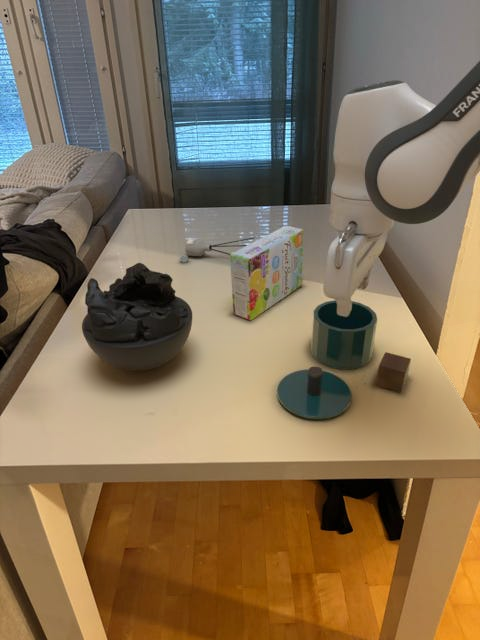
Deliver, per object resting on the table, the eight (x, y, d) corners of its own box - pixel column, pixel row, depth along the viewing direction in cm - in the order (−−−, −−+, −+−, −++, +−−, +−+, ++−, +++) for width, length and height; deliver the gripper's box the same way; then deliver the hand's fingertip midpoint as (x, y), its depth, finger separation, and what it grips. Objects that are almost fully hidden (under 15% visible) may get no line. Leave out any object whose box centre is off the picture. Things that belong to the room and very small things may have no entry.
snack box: (283, 280, 119) (285, 224, 112) (302, 286, 116) (305, 228, 109) (231, 314, 105) (228, 252, 98) (251, 322, 102) (250, 258, 95)
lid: (359, 386, 83) (363, 360, 80) (336, 431, 73) (340, 404, 70) (294, 366, 88) (295, 342, 85) (265, 407, 79) (265, 381, 76)
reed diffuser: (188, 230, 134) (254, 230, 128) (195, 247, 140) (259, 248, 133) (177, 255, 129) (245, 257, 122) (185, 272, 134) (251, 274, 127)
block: (407, 378, 84) (411, 358, 82) (401, 393, 81) (405, 372, 79) (382, 371, 86) (385, 351, 84) (375, 385, 83) (378, 365, 80)
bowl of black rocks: (205, 335, 98) (198, 252, 88) (182, 398, 81) (171, 303, 71) (114, 330, 101) (98, 249, 91) (74, 390, 84) (49, 298, 74)
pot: (377, 344, 94) (383, 307, 89) (361, 376, 85) (367, 337, 81) (323, 330, 99) (326, 295, 94) (302, 359, 90) (304, 322, 86)
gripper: (364, 240, 55) (354, 337, 63) (400, 195, 71) (388, 277, 78) (314, 233, 58) (309, 327, 65) (359, 191, 73) (351, 271, 81)
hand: (353, 299), depth 72 cm, fingers open, 8 cm apart
